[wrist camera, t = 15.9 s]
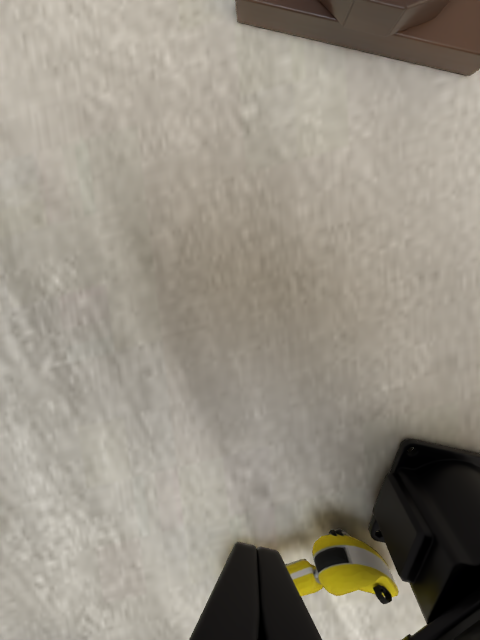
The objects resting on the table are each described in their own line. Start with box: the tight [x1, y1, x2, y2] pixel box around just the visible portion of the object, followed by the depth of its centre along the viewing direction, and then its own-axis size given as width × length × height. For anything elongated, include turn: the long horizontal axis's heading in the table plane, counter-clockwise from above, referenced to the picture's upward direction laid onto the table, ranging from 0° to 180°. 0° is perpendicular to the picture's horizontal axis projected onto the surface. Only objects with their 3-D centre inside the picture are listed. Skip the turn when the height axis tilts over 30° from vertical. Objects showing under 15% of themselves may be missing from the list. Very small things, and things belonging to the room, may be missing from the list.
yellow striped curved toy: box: [285, 529, 398, 604], centre depth 20 cm, size 10×6×4 cm, turn 116°
